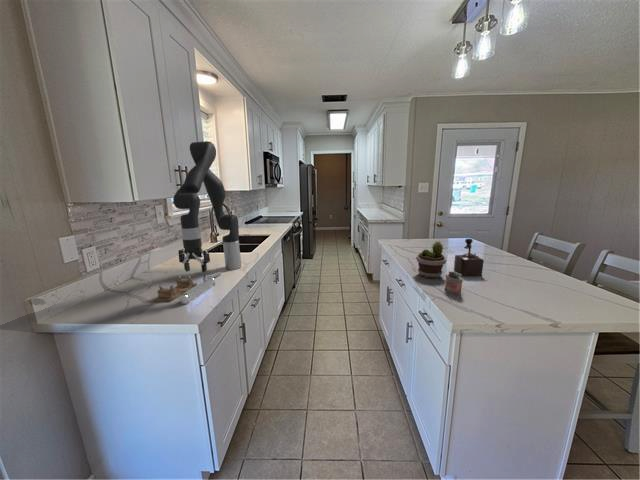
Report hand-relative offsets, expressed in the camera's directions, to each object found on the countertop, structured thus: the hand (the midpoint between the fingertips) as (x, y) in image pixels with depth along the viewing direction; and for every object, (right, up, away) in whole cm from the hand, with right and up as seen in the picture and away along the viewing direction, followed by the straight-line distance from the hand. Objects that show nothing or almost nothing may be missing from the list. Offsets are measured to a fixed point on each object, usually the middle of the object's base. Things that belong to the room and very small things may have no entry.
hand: (196, 271), depth 118 cm
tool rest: (-12, -11, +5) cm, 16 cm away
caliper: (-1, -8, +21) cm, 22 cm away
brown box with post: (+140, -4, +25) cm, 143 cm away
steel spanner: (0, -11, +3) cm, 12 cm away
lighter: (+119, -10, -1) cm, 120 cm away
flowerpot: (+118, -5, +20) cm, 120 cm away
